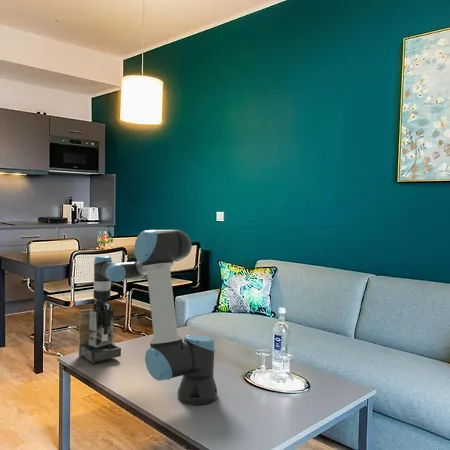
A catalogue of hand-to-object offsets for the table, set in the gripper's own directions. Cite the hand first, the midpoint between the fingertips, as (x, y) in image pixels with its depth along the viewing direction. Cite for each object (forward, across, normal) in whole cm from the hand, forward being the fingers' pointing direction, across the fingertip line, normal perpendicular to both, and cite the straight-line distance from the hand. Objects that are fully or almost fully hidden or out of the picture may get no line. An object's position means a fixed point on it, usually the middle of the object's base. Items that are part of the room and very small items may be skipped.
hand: (100, 338), depth 203 cm
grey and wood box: (+10, +1, 0) cm, 10 cm away
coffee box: (+3, 0, 0) cm, 3 cm away
